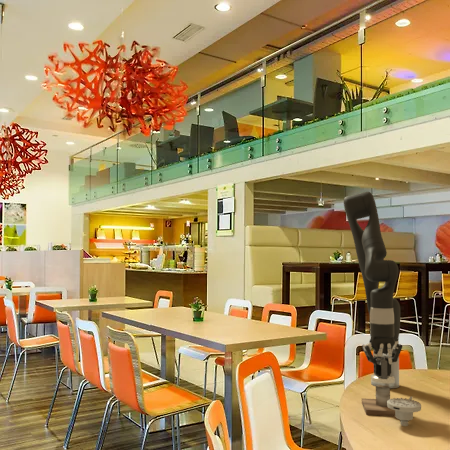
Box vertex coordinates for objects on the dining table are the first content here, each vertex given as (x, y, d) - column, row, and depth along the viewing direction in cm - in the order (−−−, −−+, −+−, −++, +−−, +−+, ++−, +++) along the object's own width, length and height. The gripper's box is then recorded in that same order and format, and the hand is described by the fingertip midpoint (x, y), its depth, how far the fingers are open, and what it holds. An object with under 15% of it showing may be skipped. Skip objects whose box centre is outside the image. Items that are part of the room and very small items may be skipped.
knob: (372, 387, 159) (372, 360, 159) (369, 380, 167) (368, 355, 168) (396, 388, 158) (396, 361, 158) (391, 381, 166) (391, 356, 167)
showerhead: (427, 399, 148) (412, 406, 141) (428, 424, 147) (412, 432, 140) (397, 392, 154) (381, 399, 147) (397, 417, 154) (381, 424, 147)
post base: (361, 402, 169) (361, 380, 169) (398, 404, 167) (398, 381, 167) (366, 414, 156) (366, 390, 156) (406, 416, 154) (406, 391, 155)
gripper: (368, 323, 158) (368, 379, 157) (407, 322, 161) (408, 377, 160) (356, 320, 166) (357, 374, 165) (395, 319, 169) (395, 372, 168)
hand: (382, 375), depth 163 cm, fingers closed on knob, 2 cm apart
